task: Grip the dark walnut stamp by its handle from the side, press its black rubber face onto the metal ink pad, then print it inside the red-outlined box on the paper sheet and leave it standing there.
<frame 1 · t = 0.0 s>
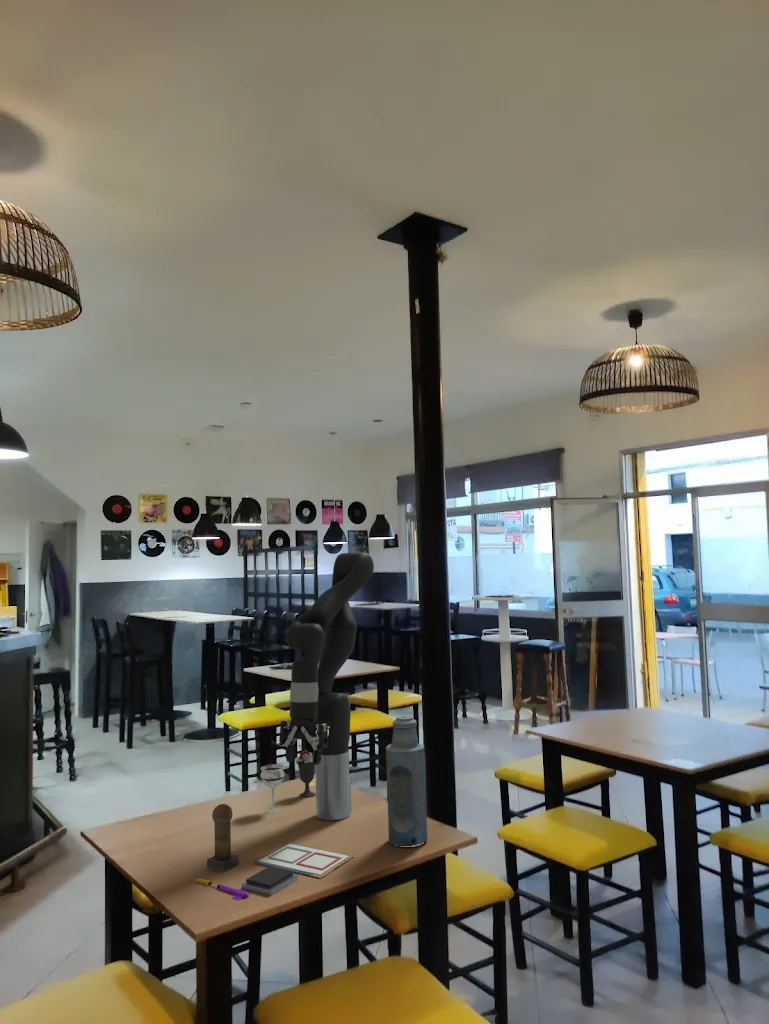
hand: (302, 763, 186), 17 cm above the table, tool pointing down, fingers open, 8 cm apart
ink pad: (269, 883, 153), on the table
print sheet: (304, 860, 165), on the table
bottle: (408, 842, 175), on the table
marker pen: (218, 893, 150), on the table
sundae: (307, 795, 215), on the table
stamp: (222, 866, 163), on the table
wineglass: (273, 811, 201), on the table
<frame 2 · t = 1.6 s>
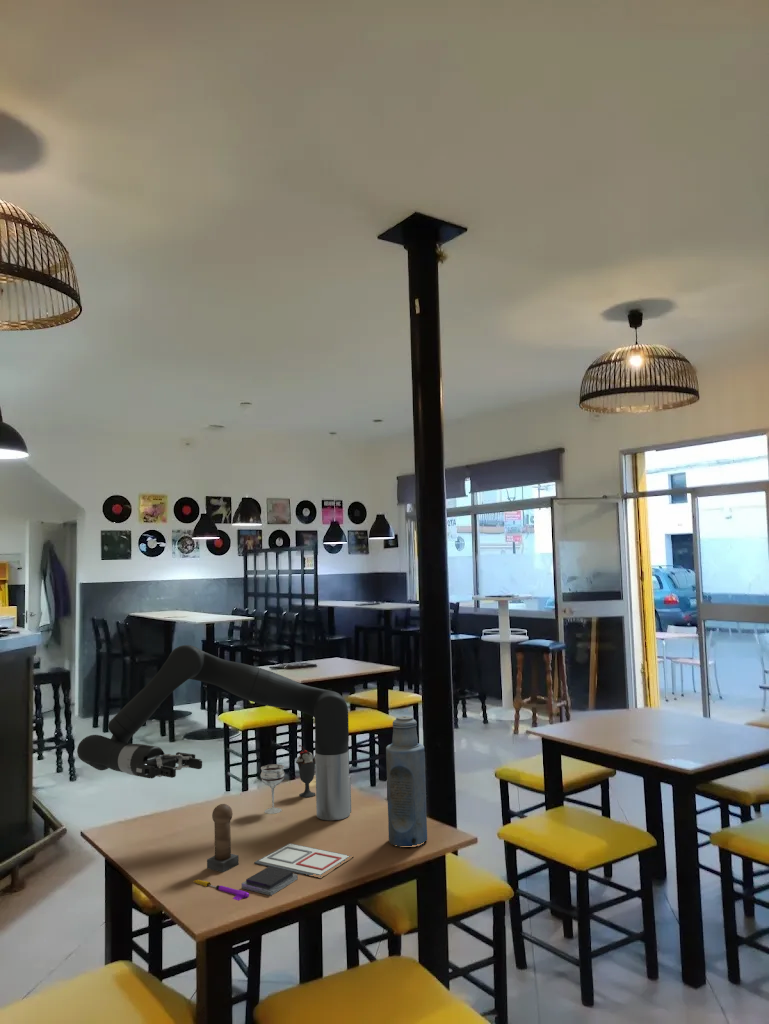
hand: (188, 768, 170), 21 cm above the table, tool horizontal, fingers open, 8 cm apart
nothing on the table moved.
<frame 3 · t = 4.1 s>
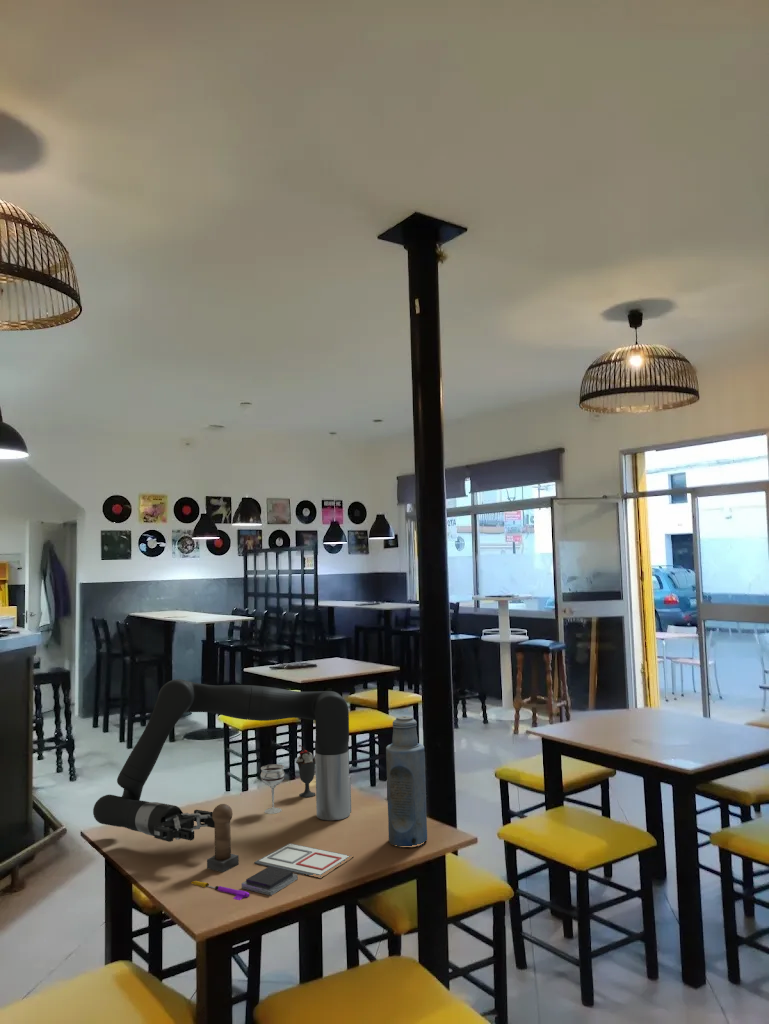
hand: (206, 829, 166), 7 cm above the table, tool horizontal, fingers open, 8 cm apart
nothing on the table moved.
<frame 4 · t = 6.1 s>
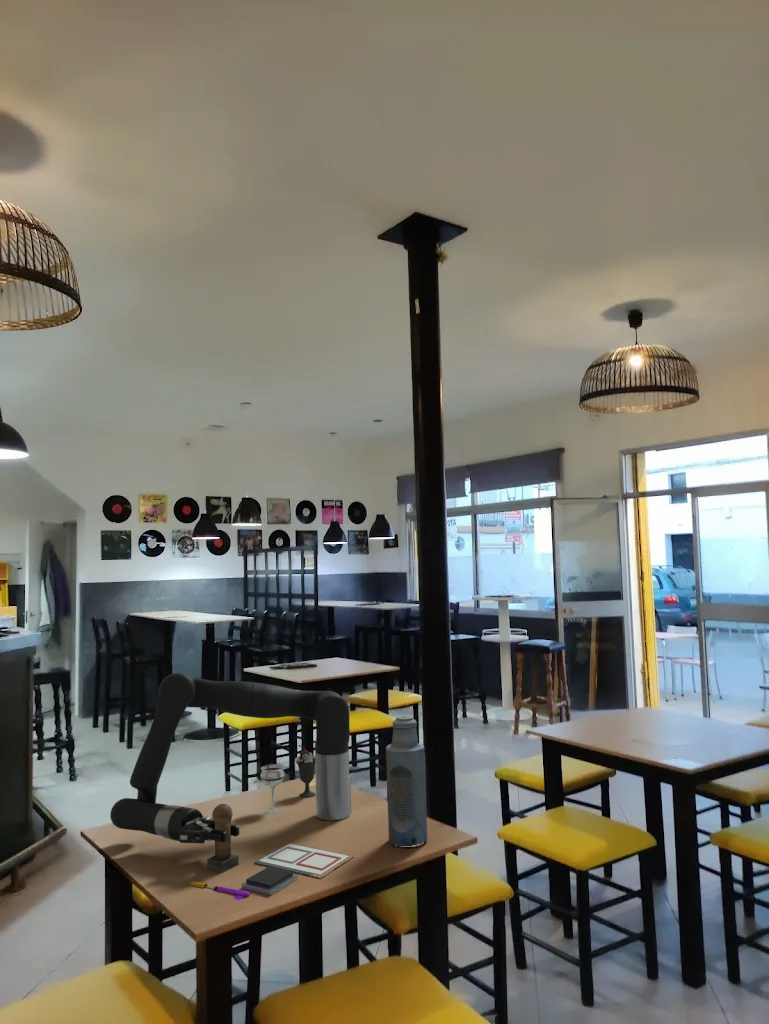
hand: (231, 834, 162), 8 cm above the table, tool horizontal, fingers closed on stamp, 3 cm apart
stamp: (223, 866, 163), on the table, touching gripper
everything else where it was.
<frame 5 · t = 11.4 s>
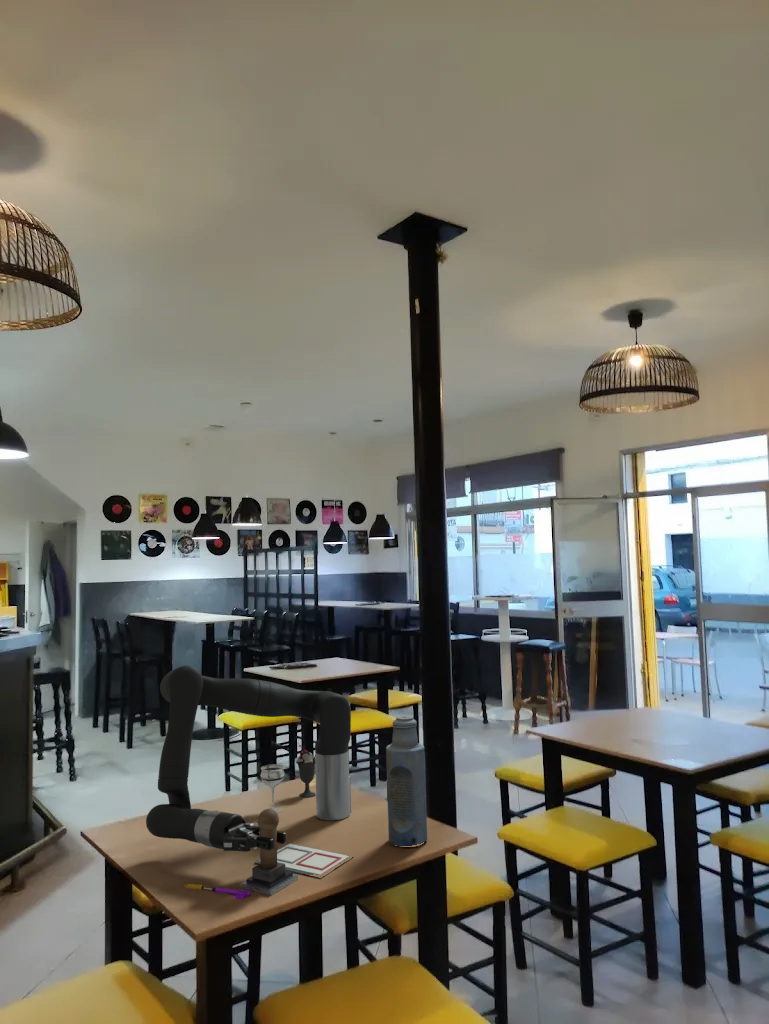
hand: (278, 841, 152), 9 cm above the table, tool horizontal, fingers closed on stamp, 3 cm apart
stamp: (268, 875, 153), point 2 cm above the table, touching gripper, ink pad
when the fingers open (8 cm above the table, at t = 16.6 s): stamp stays where it is, resting on print sheet.
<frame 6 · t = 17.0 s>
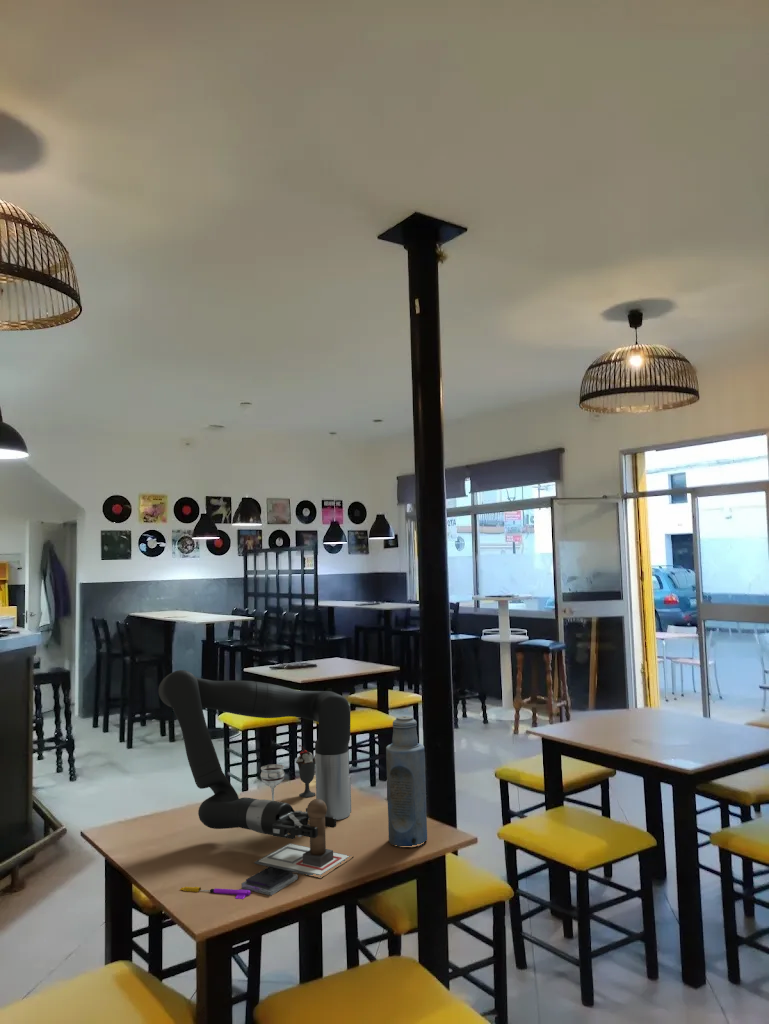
hand: (326, 827, 162), 8 cm above the table, tool horizontal, fingers open, 6 cm apart
stamp: (318, 861, 163), resting on print sheet
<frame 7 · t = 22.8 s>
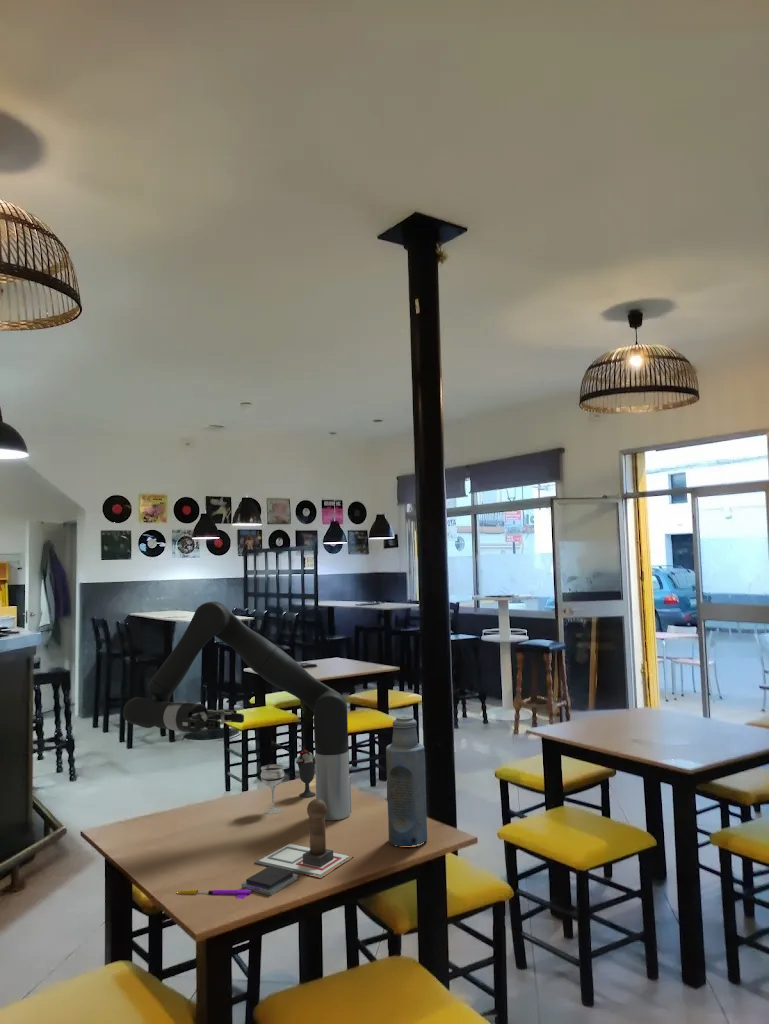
hand: (231, 721, 179), 30 cm above the table, tool horizontal, fingers open, 8 cm apart
at the end: stamp 0.2 cm from the target spot on the print sheet, point 0.5 cm above the print sheet's base; stamp tilted 0°; the gripper is holding nothing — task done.
